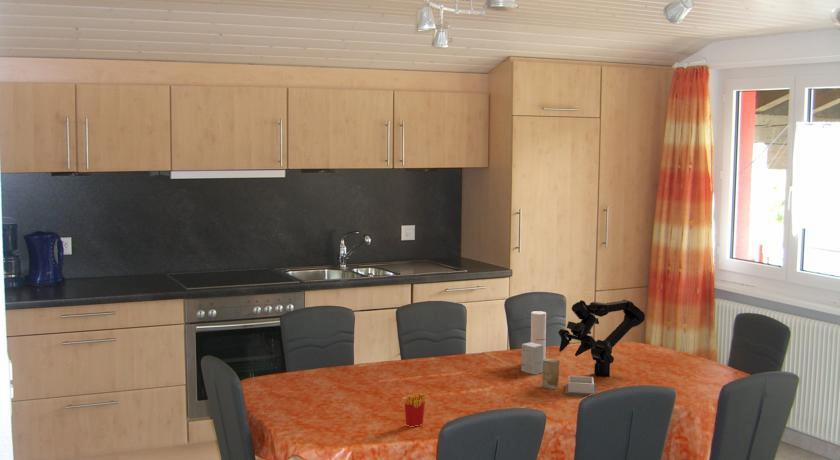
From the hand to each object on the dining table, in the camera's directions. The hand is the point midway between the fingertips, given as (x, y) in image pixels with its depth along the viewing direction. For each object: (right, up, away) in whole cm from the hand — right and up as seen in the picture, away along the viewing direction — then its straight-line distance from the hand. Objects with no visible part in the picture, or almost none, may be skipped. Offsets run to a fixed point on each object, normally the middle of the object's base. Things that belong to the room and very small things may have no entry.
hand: (567, 353), depth 362 cm
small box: (-13, -12, +18) cm, 25 cm away
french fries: (-67, -20, -52) cm, 87 cm away
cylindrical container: (-9, -10, +32) cm, 34 cm away
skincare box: (-8, -14, -5) cm, 17 cm away
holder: (+4, -15, -10) cm, 18 cm away
